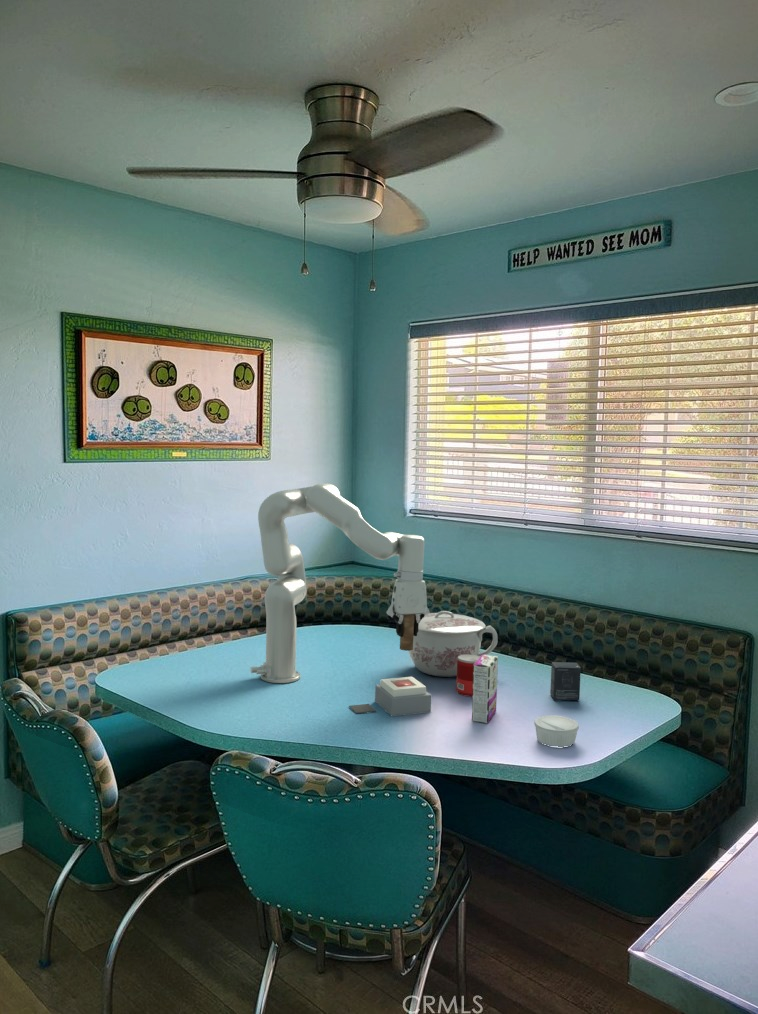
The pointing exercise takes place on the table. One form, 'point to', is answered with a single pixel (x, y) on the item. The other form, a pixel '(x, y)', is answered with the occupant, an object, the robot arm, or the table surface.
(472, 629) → the chamber pot
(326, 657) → the table surface
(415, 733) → the table surface
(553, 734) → the ramekin
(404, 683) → the egg
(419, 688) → the grey white square holder
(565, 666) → the box
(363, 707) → the coaster
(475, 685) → the candy bar box
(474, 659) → the canned food
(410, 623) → the brown rounded cylinder
